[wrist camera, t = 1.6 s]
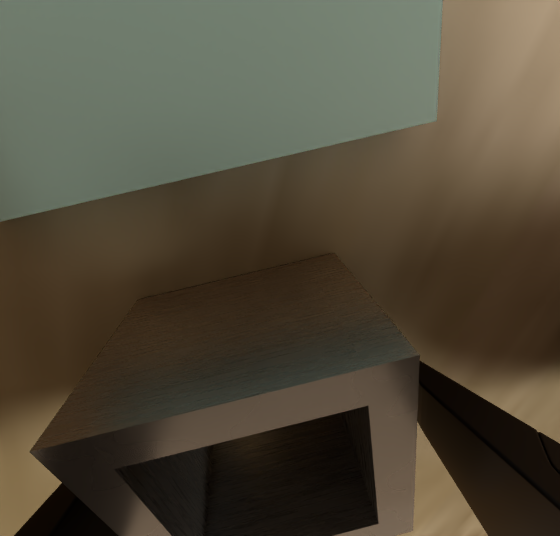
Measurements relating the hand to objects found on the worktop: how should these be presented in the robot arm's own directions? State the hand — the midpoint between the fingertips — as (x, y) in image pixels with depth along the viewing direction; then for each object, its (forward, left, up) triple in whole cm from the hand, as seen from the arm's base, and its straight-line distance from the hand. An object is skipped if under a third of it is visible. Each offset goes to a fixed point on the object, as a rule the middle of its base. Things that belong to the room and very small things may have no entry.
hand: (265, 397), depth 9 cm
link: (0, 0, -2) cm, 2 cm away
